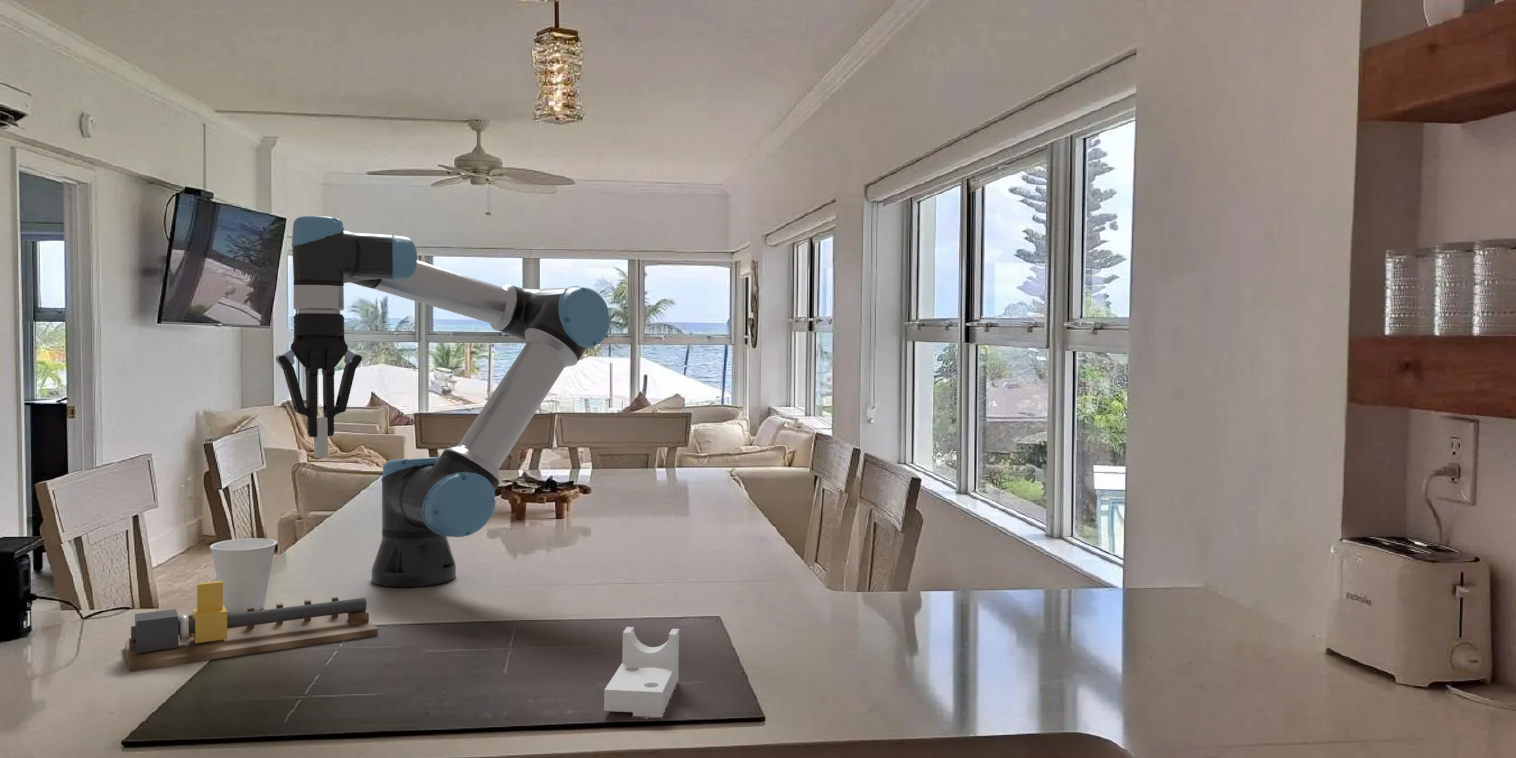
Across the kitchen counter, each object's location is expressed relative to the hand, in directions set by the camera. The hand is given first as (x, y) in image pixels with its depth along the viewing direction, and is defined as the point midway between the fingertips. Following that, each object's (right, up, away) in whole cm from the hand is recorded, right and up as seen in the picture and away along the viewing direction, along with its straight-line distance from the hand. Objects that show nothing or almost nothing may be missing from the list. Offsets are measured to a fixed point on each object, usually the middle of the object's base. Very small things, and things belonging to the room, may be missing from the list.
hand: (321, 456), depth 159 cm
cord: (-3, -24, -15) cm, 28 cm away
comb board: (-3, -26, -15) cm, 30 cm away
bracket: (+57, -29, -35) cm, 73 cm away
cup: (-14, -26, +2) cm, 29 cm away
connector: (-13, -25, -22) cm, 36 cm away
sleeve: (-8, -25, -18) cm, 32 cm away
